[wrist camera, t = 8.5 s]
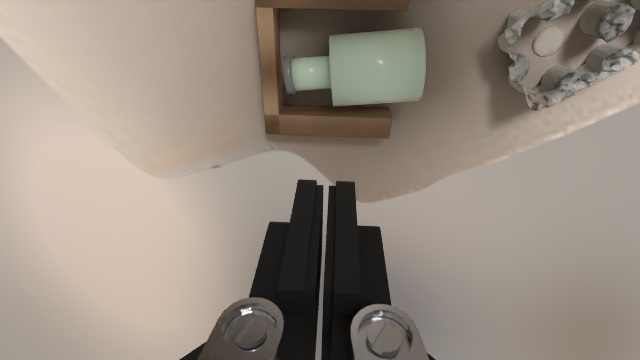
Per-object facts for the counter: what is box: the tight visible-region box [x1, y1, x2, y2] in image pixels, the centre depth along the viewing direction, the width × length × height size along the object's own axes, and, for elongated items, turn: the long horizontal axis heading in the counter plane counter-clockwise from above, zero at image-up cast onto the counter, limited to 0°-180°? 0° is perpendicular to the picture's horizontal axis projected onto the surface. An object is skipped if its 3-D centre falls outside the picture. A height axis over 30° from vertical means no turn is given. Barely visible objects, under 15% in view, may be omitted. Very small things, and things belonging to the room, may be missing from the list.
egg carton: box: [498, 0, 640, 111], centre depth 24 cm, size 11×8×4 cm
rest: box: [255, 0, 408, 138], centre depth 27 cm, size 12×11×2 cm
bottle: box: [283, 28, 426, 107], centre depth 26 cm, size 5×5×10 cm
